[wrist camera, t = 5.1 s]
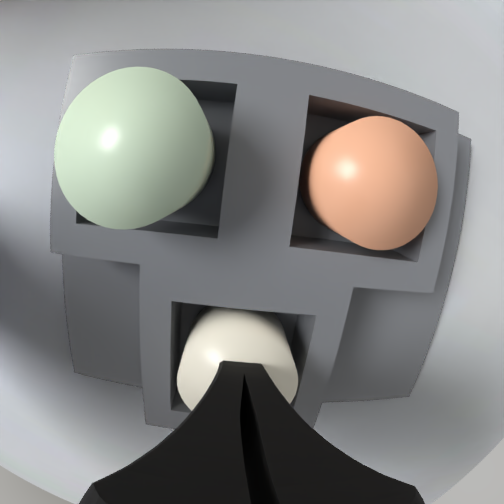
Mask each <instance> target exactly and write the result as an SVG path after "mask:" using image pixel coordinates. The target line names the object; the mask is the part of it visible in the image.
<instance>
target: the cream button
mask: <svg viewBox="0 0 504 504" xmlns="http://www.w3.org/2000/svg"><path fill="white" fill-rule="evenodd" d="M223 360H225V361H236V362H247V363H261V364H262V365H263V366H264V368H265V370H266V371H267V373H268V375H269V376H270V378H271V379H272V381H273V382H274V384H275V385H276V387H277V388H278V389H279V391H280V392H281V394H282V395H283V396H284V397H285V399H286V400H287V401H288V403H289V404H290V403H291V402H292V400H293V398H294V396H295V394H296V391H297V387H298V374H297V370H296V366H295V363H294V360H293V357H292V354H291V351H290V348H289V344H288V341H287V338H286V335H285V332H284V329H283V326H282V324H281V322H280V320H279V319H278V317H277V316H276V315H275V314H274V313H273V312H268V311H257V310H246V309H236V308H226V307H217V306H207V307H206V308H204V309H203V310H202V311H201V312H200V313H199V314H198V315H197V316H196V318H195V319H194V321H193V322H192V325H191V327H190V330H189V334H188V337H187V341H186V344H185V348H184V352H183V355H182V359H181V363H180V366H179V370H178V374H177V387H178V391H179V393H180V396H181V398H182V400H183V401H184V403H185V404H186V405H187V407H188V408H189V409H190V410H191V411H192V410H193V409H194V408H195V406H196V405H197V404H198V402H199V401H200V400H201V398H202V397H203V396H204V394H205V392H206V391H207V389H208V388H209V386H210V384H211V383H212V381H213V379H214V377H215V375H216V373H217V370H218V367H219V363H220V362H222V361H223Z"/></svg>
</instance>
